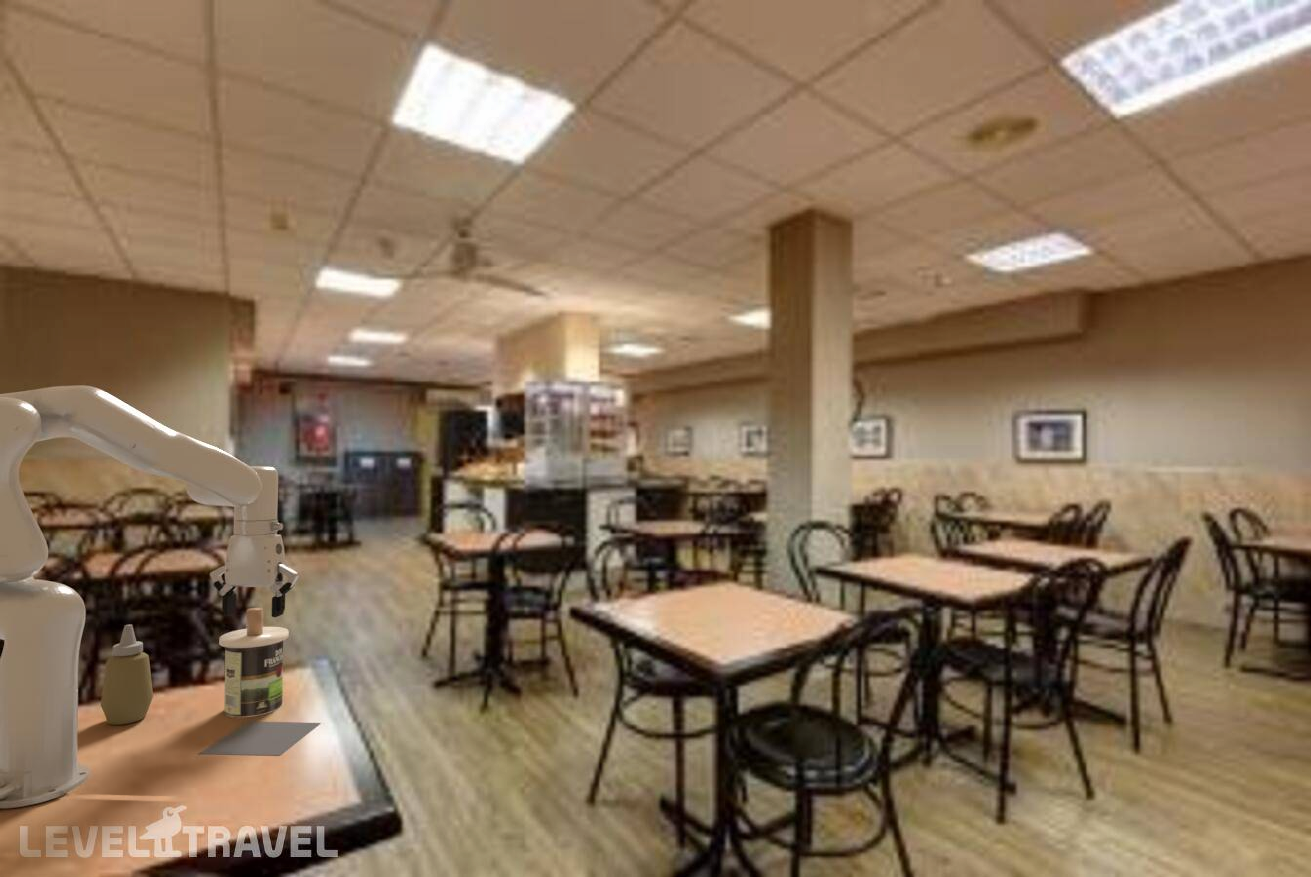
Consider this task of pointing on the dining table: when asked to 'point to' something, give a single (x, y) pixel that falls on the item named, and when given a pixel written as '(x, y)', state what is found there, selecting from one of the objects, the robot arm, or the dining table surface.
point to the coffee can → (253, 680)
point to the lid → (254, 633)
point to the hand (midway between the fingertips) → (253, 615)
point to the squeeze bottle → (127, 681)
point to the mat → (261, 738)
